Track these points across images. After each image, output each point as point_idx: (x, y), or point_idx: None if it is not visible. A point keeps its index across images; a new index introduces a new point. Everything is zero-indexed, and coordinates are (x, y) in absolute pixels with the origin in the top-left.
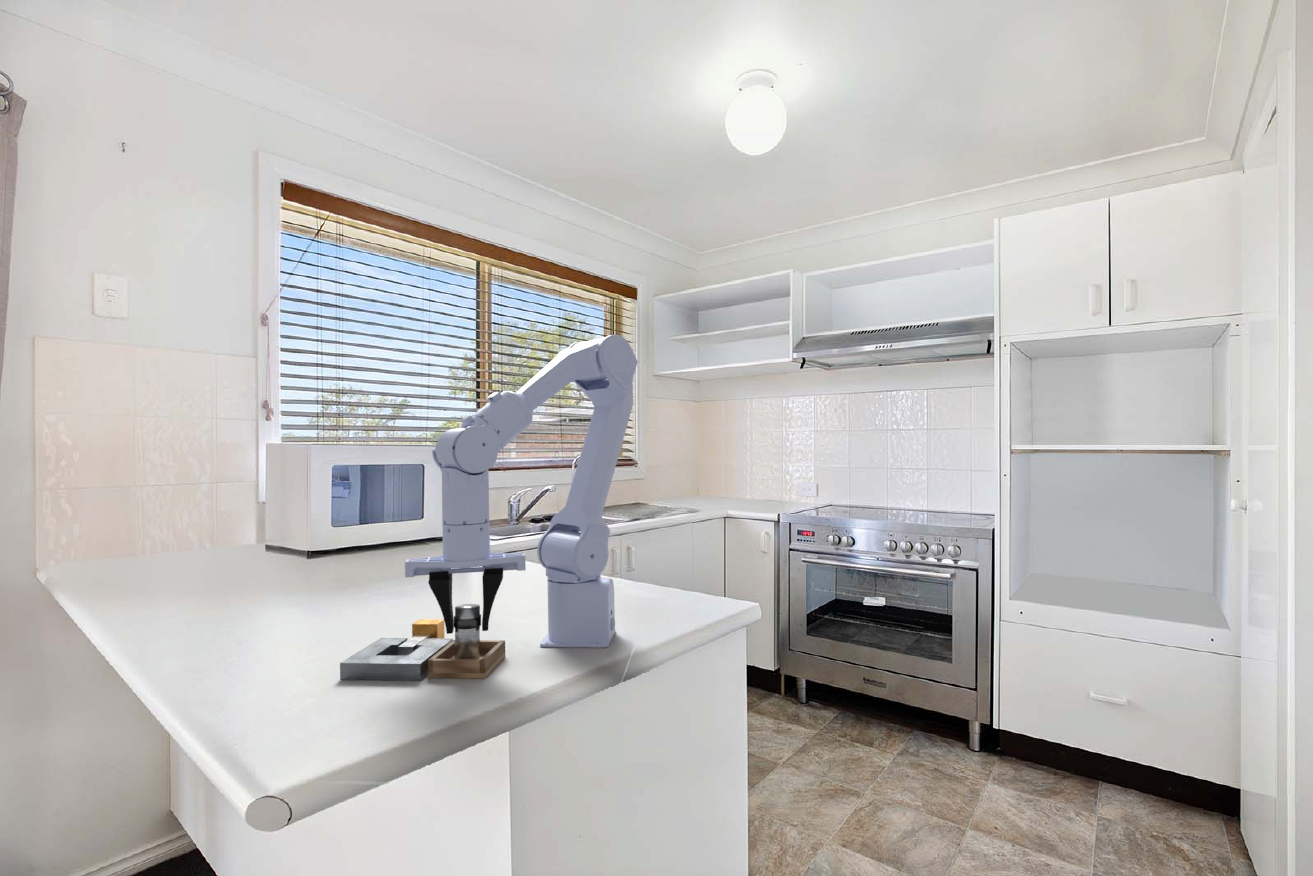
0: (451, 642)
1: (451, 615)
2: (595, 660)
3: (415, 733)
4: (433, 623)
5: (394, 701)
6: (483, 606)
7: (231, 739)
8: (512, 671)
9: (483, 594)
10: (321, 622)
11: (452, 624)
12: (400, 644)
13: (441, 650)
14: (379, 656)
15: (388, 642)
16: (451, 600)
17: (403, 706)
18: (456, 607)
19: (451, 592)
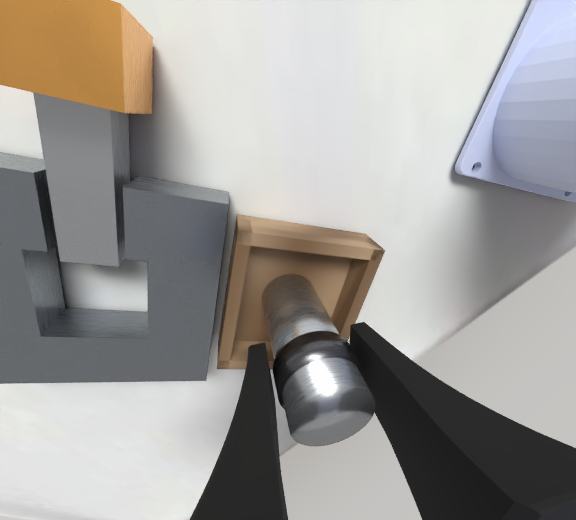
0: (238, 253)
1: (275, 420)
2: (516, 261)
3: None
4: (95, 92)
5: (194, 408)
6: (388, 437)
7: (19, 500)
8: (371, 305)
9: (414, 495)
10: None
11: (273, 392)
12: (47, 230)
13: (229, 315)
14: (62, 344)
15: None
16: (274, 441)
17: (216, 418)
18: (295, 432)
19: (279, 477)
